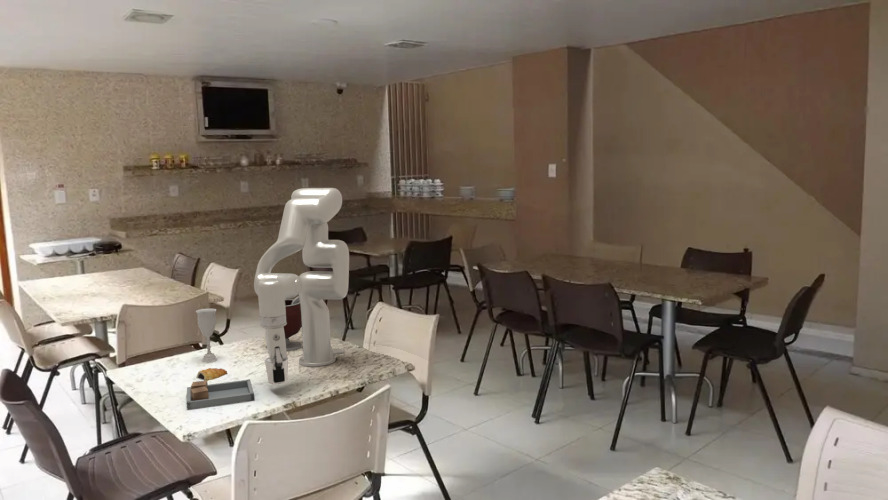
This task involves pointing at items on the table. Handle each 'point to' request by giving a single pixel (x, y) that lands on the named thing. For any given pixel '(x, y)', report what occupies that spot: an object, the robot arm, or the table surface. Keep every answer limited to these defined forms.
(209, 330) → the chalice
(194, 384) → the walnut block
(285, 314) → the robot arm
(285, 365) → the shot glass
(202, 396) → the walnut block
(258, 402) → the table surface
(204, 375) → the pastry
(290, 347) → the mate gourd
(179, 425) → the table surface
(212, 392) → the tray
